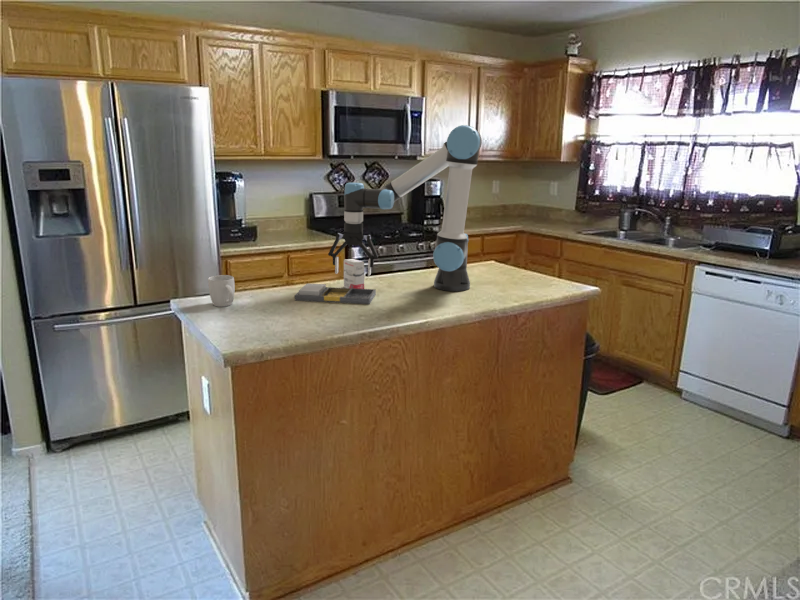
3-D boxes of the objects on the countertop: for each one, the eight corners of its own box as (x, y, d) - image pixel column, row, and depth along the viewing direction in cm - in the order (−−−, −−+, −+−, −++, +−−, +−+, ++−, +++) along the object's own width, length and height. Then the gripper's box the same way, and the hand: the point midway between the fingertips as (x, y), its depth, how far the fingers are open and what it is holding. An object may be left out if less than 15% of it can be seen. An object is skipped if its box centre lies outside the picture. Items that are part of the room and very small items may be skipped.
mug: (205, 303, 201) (203, 277, 199) (229, 299, 207) (227, 273, 205) (221, 311, 192) (219, 284, 190) (244, 307, 198) (243, 280, 196)
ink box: (364, 289, 225) (365, 261, 222) (354, 291, 222) (354, 262, 219) (353, 285, 232) (352, 258, 228) (343, 287, 229) (342, 259, 225)
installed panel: (325, 291, 219) (325, 284, 218) (318, 299, 208) (318, 291, 207) (307, 290, 220) (307, 283, 219) (299, 298, 209) (298, 290, 208)
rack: (375, 294, 218) (375, 289, 218) (369, 304, 205) (369, 298, 204) (305, 291, 221) (305, 285, 221) (294, 300, 208) (294, 294, 207)
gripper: (385, 222, 222) (384, 273, 228) (325, 219, 224) (325, 270, 230) (383, 225, 215) (381, 277, 220) (320, 221, 217) (321, 274, 223)
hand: (353, 274), depth 225 cm, fingers open, 13 cm apart
